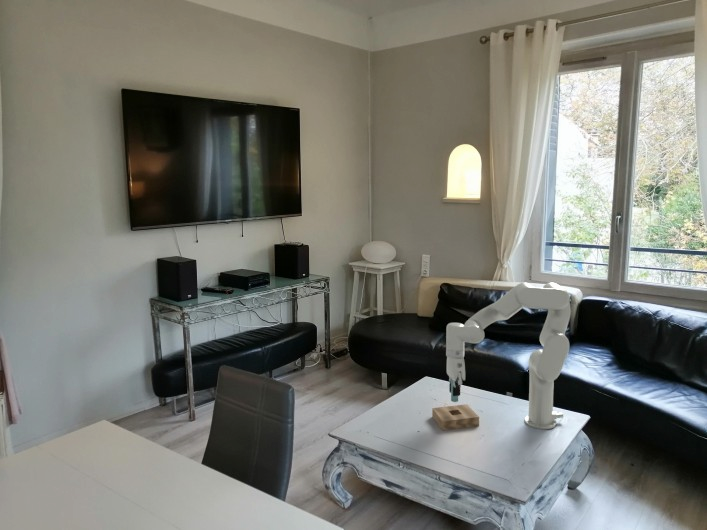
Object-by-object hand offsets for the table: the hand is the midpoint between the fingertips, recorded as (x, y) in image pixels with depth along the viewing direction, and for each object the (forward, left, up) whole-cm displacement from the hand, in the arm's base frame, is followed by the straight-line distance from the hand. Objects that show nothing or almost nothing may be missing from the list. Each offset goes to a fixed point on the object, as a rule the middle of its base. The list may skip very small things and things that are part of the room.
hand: (454, 393), depth 229 cm
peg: (0, 0, -3) cm, 3 cm away
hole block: (0, 0, -13) cm, 13 cm away
